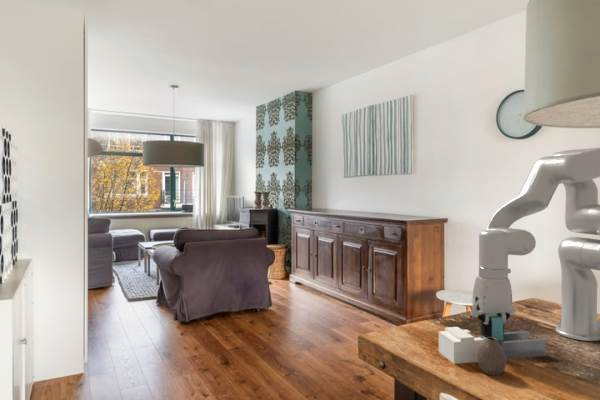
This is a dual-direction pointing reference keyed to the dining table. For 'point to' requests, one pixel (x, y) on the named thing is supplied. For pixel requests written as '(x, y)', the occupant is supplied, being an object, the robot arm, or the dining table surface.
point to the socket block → (459, 345)
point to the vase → (491, 357)
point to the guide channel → (522, 345)
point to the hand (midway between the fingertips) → (492, 335)
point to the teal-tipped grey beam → (495, 327)
